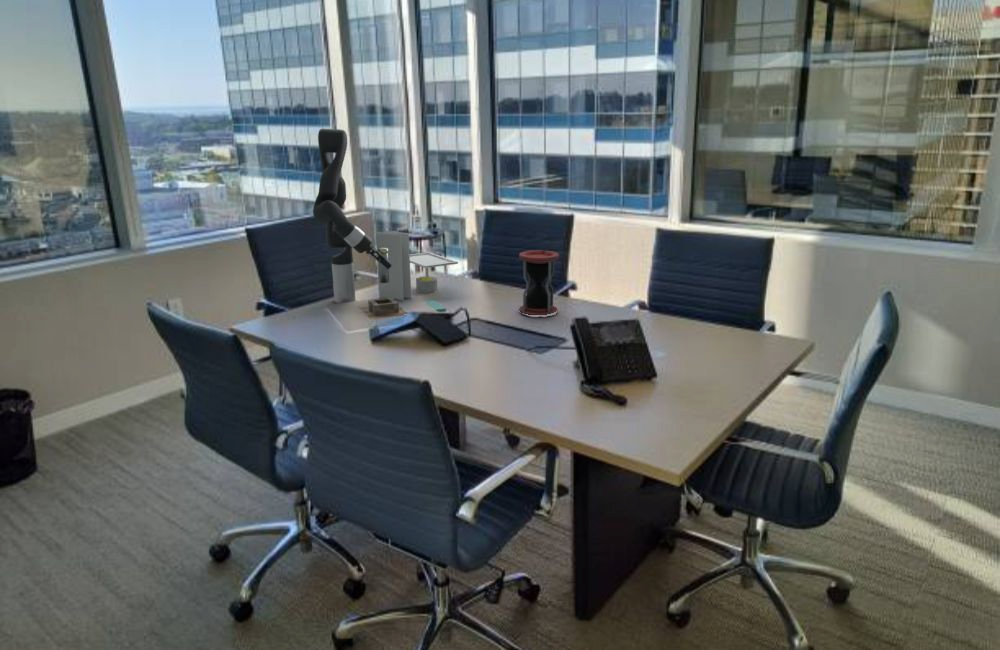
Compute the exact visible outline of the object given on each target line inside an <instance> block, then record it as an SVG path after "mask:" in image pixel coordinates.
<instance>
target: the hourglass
mask: <svg viewBox="0 0 1000 650" xmlns="http://www.w3.org/2000/svg"><path fill="white" fill-rule="evenodd" d="M518 257H519V260H522V261H523V269H522V270H523V274H522V275H523V280H524V281H525V285H526V286H525V289H524V291H523V294H522V305H520V306H519V308H518V312H519V311H520V312H521V313H524V314H528V315H547V314H551V313H554V312H556V311H557V312H558V308H557V307H556V306H555V305H554V287H553V286H552V278H553V276H554V274H555V261H558V260H559V258H560V254H559V253H558V252H555V251H551V250H541V249H539V250H536V249H534V250H525V251H522V252H520V253H519V256H518ZM527 276H528V278H527ZM546 279H547V280H546ZM545 280H546V282H545V285H543V282H544V281H545ZM533 282H534V283H535V284H534V285H533ZM532 285H533V286H532ZM531 286H532V287H531Z"/></svg>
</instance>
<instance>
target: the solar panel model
mask: <svg viewBox="0 0 1000 650" xmlns="http://www.w3.org/2000/svg"><path fill="white" fill-rule="evenodd" d="M410 264H412V265H415V266H418V267H420V268H423V269H424V270H425V276H417V277H416V278H415V282H416V283H415V285H416V287H415V288H416V292H418V293H421V294H423V293H425V294H427V293H428V294H429V293H431V292H432V293H436V292H438V278H437V277H434V276H429V274H430V273H429V269H430V268H437V267H438V268H439V267H444V266H450V265H451V266H452V265H459V262H458V261H457V260H453V259H450V258H447V257H444V256H442V255H438V254H436V253H432V252H430V251H427V252H419V253H411V254H410ZM435 291H436V292H435Z"/></svg>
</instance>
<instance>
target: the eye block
mask: <svg viewBox="0 0 1000 650" xmlns="http://www.w3.org/2000/svg"><path fill="white" fill-rule="evenodd" d="M367 301H368V306H367V305H364V306H359V308H358V309H360V310H361V311H362V313H364V314H365V315H366V316H367V317H368V318H369V319H370V320H378V319H379V320H380V319H386V318H394V317H402V315H403V316H405V315H404V314H407V313H408V312H407V311H406V310H404V308H402V307H401V306H400V305H399V302H398V301H397V300H396V299H393V298H392V297H391V298H381V299H379V298H375V299H368V300H367Z"/></svg>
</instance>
